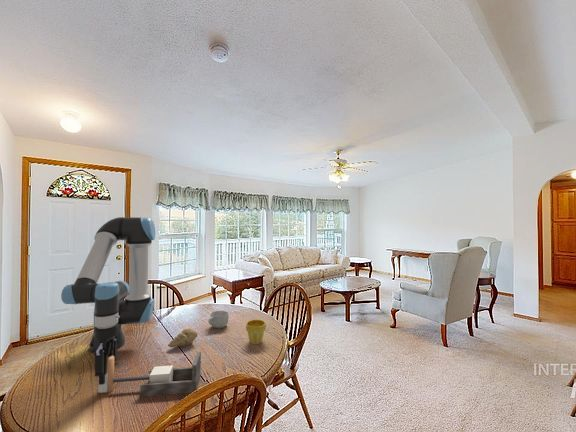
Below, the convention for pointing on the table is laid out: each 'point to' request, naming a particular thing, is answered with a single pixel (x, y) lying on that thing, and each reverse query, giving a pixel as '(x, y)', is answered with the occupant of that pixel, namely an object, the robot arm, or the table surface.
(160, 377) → the push rod with block
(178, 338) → the seashell
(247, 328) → the plant pot
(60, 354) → the table surface
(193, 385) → the shelf lane
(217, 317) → the teacup
